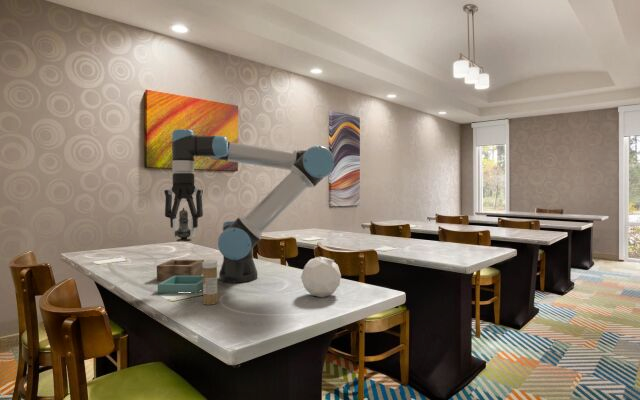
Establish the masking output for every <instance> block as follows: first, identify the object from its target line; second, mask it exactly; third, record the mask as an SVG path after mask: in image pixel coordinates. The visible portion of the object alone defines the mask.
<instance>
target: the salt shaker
mask: <svg viewBox="0 0 640 400" xmlns="http://www.w3.org/2000/svg"><path fill="white" fill-rule="evenodd" d="M178 215H179V216H178V217H179V218H178V230H177V231H175V232H176V235H177V236H178V238H177V239H176V241H175V242H191V241H192V239H191V238H190V228H189V227H190V226H189V222H190V219H189V216H188V215H189V213H188V211H187V210H185V208H184V207H183V208H182V209H181V210H180V211H179V214H178Z"/></svg>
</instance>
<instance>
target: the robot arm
mask: <svg viewBox="0 0 640 400" xmlns="http://www.w3.org/2000/svg"><path fill="white" fill-rule="evenodd" d="M171 151H172V152H171V153H172V154H171V155H172V160H171V161H172V165H171V167H172V172H173V173H172V187H171V188H170V189H165V190H164V196H165V201H164V203H165V207H164V208H165V209H164V216H165V218H167V219H168V218H169V220H170V228H171V229H172V238H177V237H178V236H177V235H176V232H175V231H177V230H178V229H179V221H178V220H179V218H177V214H178V210H179V207H180V204H181V201H182V199H185V200H186V202H187V204H188V208H189V211H190V215H191V218H190V219H189V223H190V224H189V225H190V226H189V227H190V228H189V229H190V236H189V238H195V237H196V228H198V226H199V225H198V224H199V222H198V221H199V218H202V217H204V210H203V197H202V196H203V193H204V190H203V189H198V188H196V186H195V174H194V172H195V157H203V158H204V157H205V158H210V159H212V160H214V161H225V162H231V163H232V162H233V163H238V164H239V163H240V164H247V165H254V166H260V167H266V168H272V169H273V168H274V169H279V170H285V171H286V170H287V171H290V172H289V173H288V174H287V175H286V177H284V178H283V179H282V180H281V181H280V182H279V183H278V184H277V185H276V186H274V188H273V189H272V190H271V191H270V192H268V194H267V195H265V197H264V198H262V200H261V201H260V202H259V203H258V204H257V205H256V206H254V207H253V208H252V209H251V210H250V211H249V212H248V213H247V214H246V215H245V216H238V217H237V219H235V220H232V221H230V220H228V221H224V222H223V224H222V232H221V233H220V234H219V237H218V240H217V245H218V246H217V247H218V250H219V252H220V253H221V255H222V256H223V261H222V264H221V267H220V270H219V275H218V276H219V277H218V280H219V281H221V282H225V283H244V282H251V281H255V280H257V279H258V269H257V267H256V264H255V261H254V254H253V253H254V247H255V246H256V245H257V244H258V243H259V242H260V241H261V240H262V237H263V236H262V235H263V234H262V233H264V231H265V230H266V229H267V228H269V227H270V225H271V224H272V223H273V222H275V221H276V220H277V218H278V217H280V215H282V214H283V213H284V211H286V210H287V208H289V207H290V206H291V205H292V204H293V203H294V202H295V201H296V200H298V198H299V197H300V196H301V195H302V194H303V193H304V192H305V191H306V190H307V189H308V188H309V189H310V188H315V187H316V186H317V185H319V183H321V181H322V180H323V179H324V178H326V177H327V176H329V175H330V174H331V173H332V172H333V170H334V167H335V158H334V155H333V153H332V152H331V150H329V149H328V148H327V147H325V146H322V145H313V146H311V147H309V148H308V149H305V150H302V149H300V150H299V149H295V150H293V151H290V150H282V149H279V148H270V147H263V146H256V145H251V144H243V143H238V142H237V143H236V142H230V141H228V138H227V136H222V135H195V132H194V130H192V129H183V128H179V129H174V130H173V131H172V136H171ZM173 194H174V199H173ZM193 195H195V202H196V203H195V202H194V197H193ZM172 200H173V201H172ZM178 238H179V237H178Z"/></svg>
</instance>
